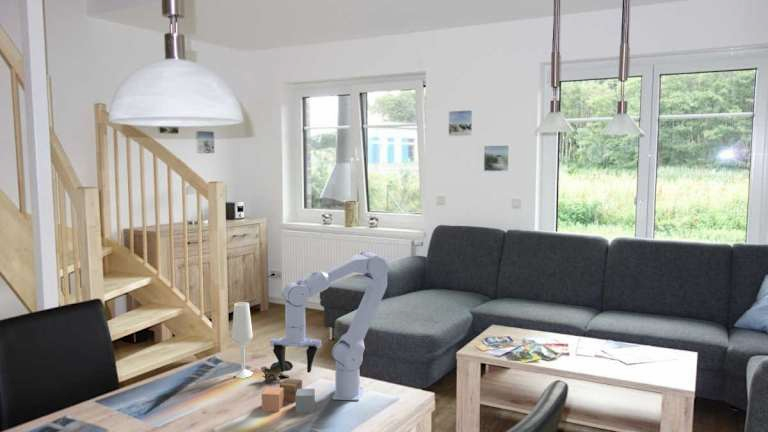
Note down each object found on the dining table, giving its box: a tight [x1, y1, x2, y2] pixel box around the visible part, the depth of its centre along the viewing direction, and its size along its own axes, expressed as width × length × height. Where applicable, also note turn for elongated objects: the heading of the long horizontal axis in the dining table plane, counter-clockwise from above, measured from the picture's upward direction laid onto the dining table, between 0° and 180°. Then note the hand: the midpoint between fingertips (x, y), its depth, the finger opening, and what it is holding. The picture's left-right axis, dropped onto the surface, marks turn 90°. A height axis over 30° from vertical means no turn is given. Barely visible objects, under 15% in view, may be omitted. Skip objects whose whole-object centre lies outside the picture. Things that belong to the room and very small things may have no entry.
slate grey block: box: [295, 388, 316, 413], centre depth 170 cm, size 5×5×5 cm
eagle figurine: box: [260, 360, 294, 384], centre depth 192 cm, size 8×7×9 cm
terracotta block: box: [261, 386, 285, 412], centre depth 171 cm, size 5×5×5 cm
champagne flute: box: [231, 301, 254, 379], centre depth 195 cm, size 7×7×24 cm
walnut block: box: [279, 377, 303, 403], centre depth 178 cm, size 5×5×5 cm
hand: (296, 370), depth 171 cm, fingers open, 7 cm apart
